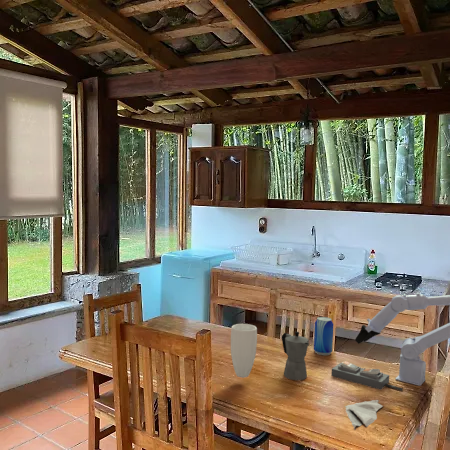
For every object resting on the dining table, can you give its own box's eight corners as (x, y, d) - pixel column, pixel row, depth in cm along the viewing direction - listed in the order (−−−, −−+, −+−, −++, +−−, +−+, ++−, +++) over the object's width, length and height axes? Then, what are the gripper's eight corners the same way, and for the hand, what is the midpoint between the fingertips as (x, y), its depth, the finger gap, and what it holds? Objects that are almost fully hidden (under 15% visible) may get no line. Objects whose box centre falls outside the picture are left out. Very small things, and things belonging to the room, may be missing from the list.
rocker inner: (380, 371, 181) (379, 368, 181) (376, 374, 178) (376, 371, 178) (366, 371, 184) (365, 368, 184) (362, 373, 181) (362, 370, 181)
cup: (260, 381, 178) (262, 326, 177) (246, 390, 170) (248, 332, 169) (238, 375, 184) (239, 321, 183) (223, 383, 176) (225, 327, 174)
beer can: (327, 357, 208) (328, 322, 207) (310, 353, 213) (311, 318, 212) (335, 352, 215) (336, 318, 214) (318, 348, 220) (320, 315, 219)
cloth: (364, 396, 169) (365, 390, 169) (401, 410, 160) (401, 403, 159) (324, 419, 151) (324, 412, 151) (363, 436, 141) (363, 428, 141)
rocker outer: (357, 368, 186) (358, 366, 186) (354, 371, 184) (354, 368, 183) (344, 362, 190) (345, 360, 189) (341, 365, 187) (341, 362, 187)
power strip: (405, 387, 178) (406, 377, 177) (398, 394, 171) (399, 384, 170) (340, 369, 194) (341, 360, 193) (331, 375, 187) (331, 366, 186)
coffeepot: (315, 379, 183) (317, 334, 181) (297, 384, 177) (299, 337, 176) (289, 366, 195) (291, 324, 194) (272, 370, 190) (273, 327, 189)
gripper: (380, 310, 196) (358, 331, 200) (370, 312, 184) (347, 334, 189) (393, 323, 193) (370, 344, 197) (383, 325, 181) (359, 348, 185)
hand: (359, 340), depth 193 cm, fingers open, 7 cm apart
